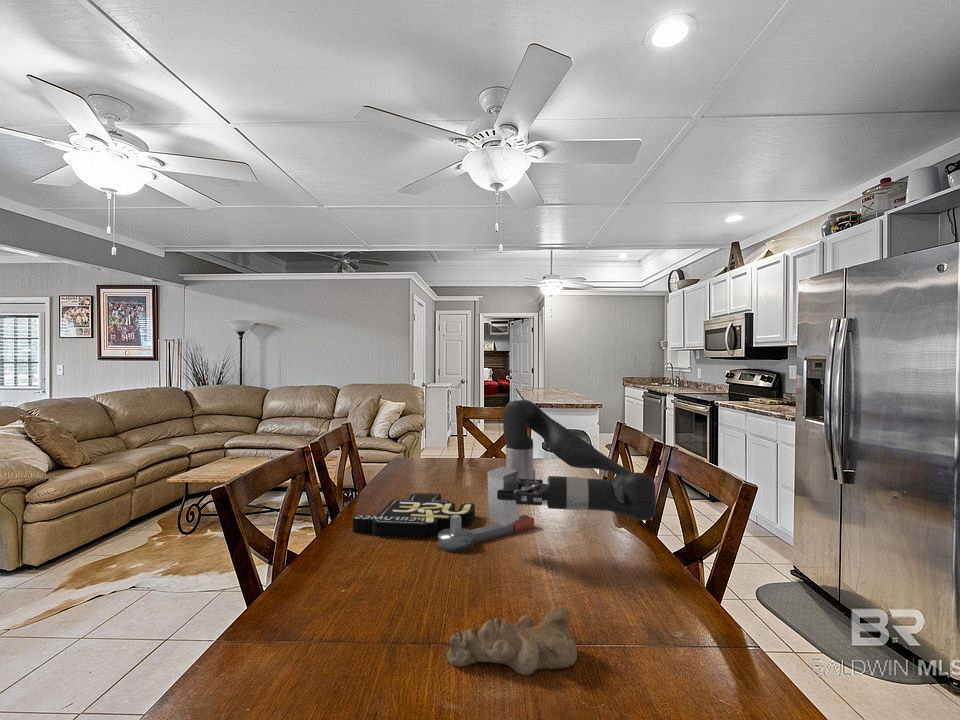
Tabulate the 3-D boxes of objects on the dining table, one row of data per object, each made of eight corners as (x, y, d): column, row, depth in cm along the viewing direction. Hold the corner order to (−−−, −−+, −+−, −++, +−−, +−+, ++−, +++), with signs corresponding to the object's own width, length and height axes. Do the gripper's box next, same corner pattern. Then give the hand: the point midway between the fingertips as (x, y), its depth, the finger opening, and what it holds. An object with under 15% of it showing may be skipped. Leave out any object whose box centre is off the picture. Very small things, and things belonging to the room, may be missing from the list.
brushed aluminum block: (503, 513, 121) (502, 466, 120) (519, 518, 117) (517, 470, 116) (489, 519, 117) (487, 471, 116) (504, 526, 114) (503, 476, 113)
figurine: (583, 642, 70) (445, 641, 70) (580, 688, 71) (444, 688, 71) (566, 591, 82) (448, 590, 81) (564, 632, 83) (447, 631, 83)
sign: (347, 521, 129) (381, 491, 158) (347, 536, 129) (381, 504, 158) (466, 526, 125) (478, 494, 155) (466, 542, 125) (478, 507, 155)
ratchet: (519, 521, 141) (519, 496, 141) (540, 530, 133) (540, 504, 133) (431, 543, 123) (431, 515, 123) (450, 554, 116) (450, 524, 116)
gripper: (568, 518, 108) (495, 514, 110) (566, 500, 122) (501, 497, 124) (569, 484, 108) (495, 481, 110) (566, 470, 122) (501, 467, 124)
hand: (499, 489), depth 117 cm, fingers closed on brushed aluminum block, 7 cm apart
